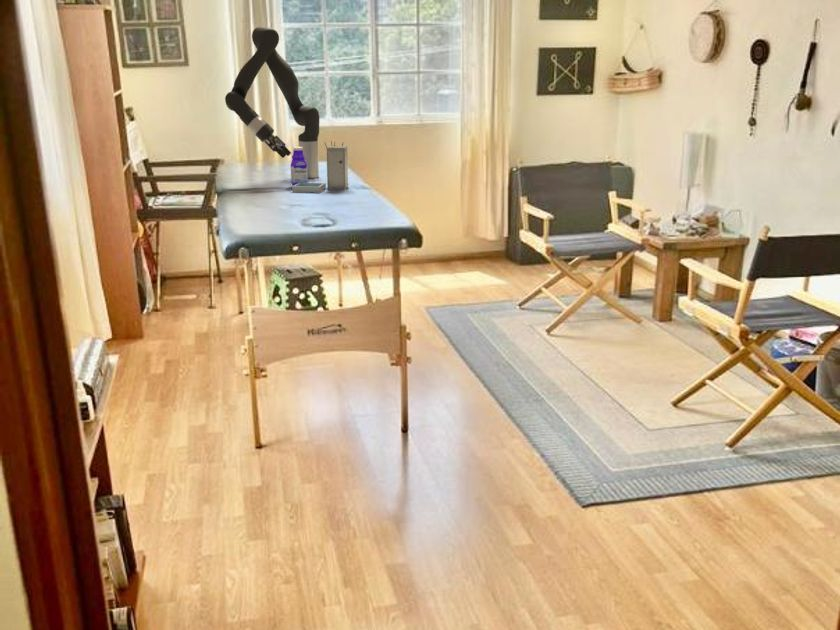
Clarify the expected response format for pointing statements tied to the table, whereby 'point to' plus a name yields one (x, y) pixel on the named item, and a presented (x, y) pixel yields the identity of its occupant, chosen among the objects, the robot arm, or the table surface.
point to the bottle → (298, 167)
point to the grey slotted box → (337, 167)
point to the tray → (309, 187)
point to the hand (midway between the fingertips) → (287, 155)
